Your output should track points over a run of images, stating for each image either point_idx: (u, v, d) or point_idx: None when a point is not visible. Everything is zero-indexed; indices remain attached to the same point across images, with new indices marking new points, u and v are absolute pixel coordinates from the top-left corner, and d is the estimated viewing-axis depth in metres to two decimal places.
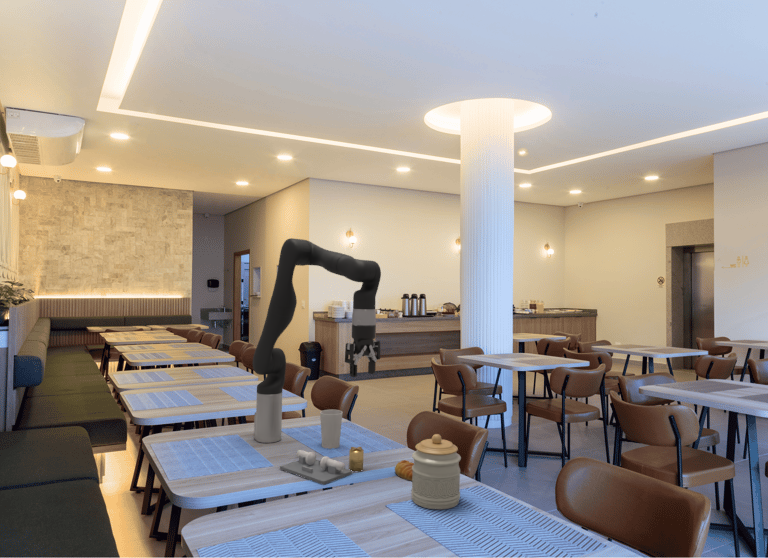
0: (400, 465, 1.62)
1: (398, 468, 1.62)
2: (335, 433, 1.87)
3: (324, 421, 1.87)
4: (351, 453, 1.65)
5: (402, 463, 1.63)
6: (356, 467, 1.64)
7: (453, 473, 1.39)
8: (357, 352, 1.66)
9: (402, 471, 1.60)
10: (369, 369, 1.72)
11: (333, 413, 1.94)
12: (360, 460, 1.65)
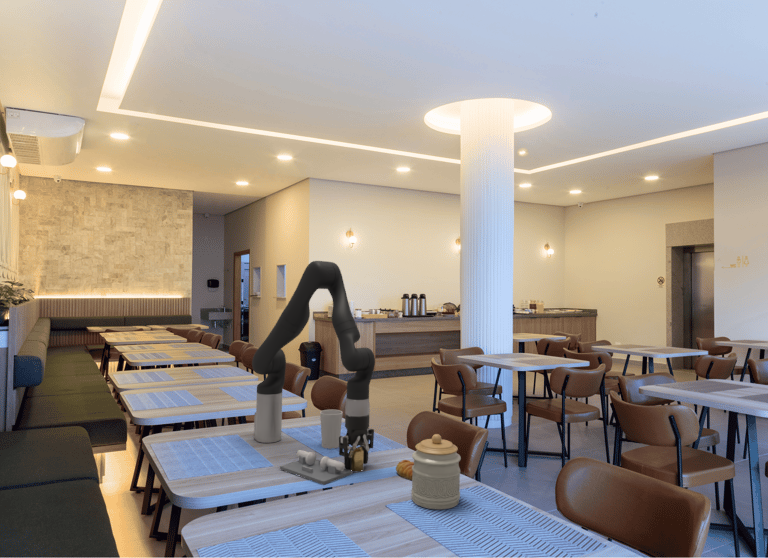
0: (402, 465, 1.63)
1: (399, 468, 1.62)
2: (335, 433, 1.87)
3: (324, 421, 1.87)
4: None
5: (403, 463, 1.64)
6: (356, 467, 1.64)
7: (453, 473, 1.39)
8: (351, 443, 1.64)
9: (404, 471, 1.60)
10: None
11: (333, 413, 1.94)
12: (360, 460, 1.65)
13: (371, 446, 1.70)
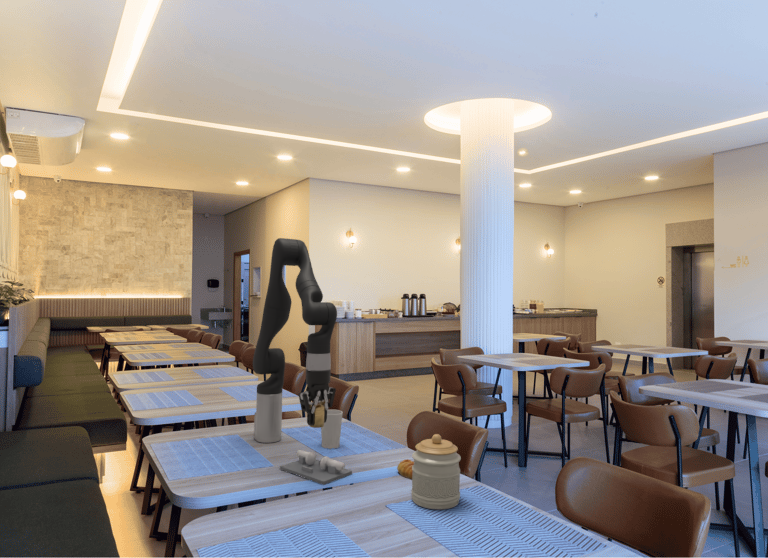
0: (403, 465, 1.63)
1: (401, 467, 1.63)
2: (335, 433, 1.87)
3: None
4: None
5: (405, 462, 1.64)
6: (317, 423, 1.62)
7: (453, 473, 1.39)
8: None
9: (405, 470, 1.61)
10: None
11: (333, 413, 1.94)
12: (320, 416, 1.62)
13: (330, 405, 1.67)
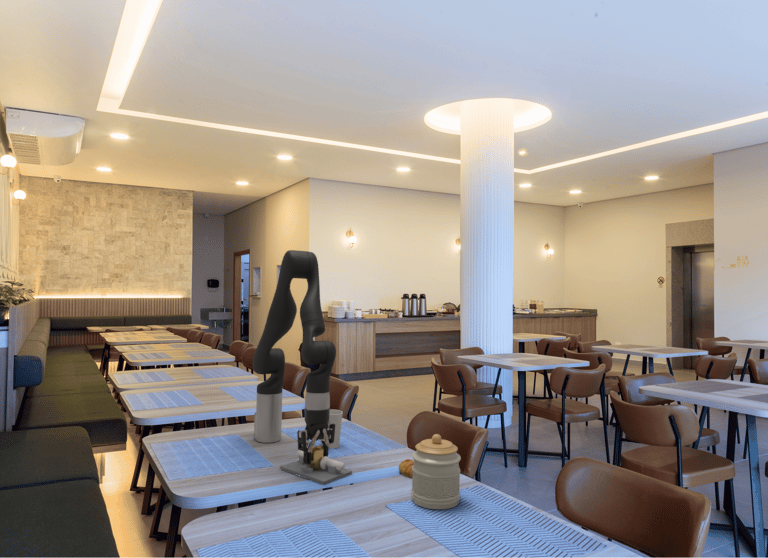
0: (405, 464, 1.63)
1: (402, 467, 1.63)
2: (335, 433, 1.87)
3: None
4: None
5: (406, 462, 1.65)
6: (316, 466, 1.61)
7: (453, 473, 1.39)
8: (310, 437, 1.61)
9: (407, 470, 1.61)
10: None
11: (333, 413, 1.94)
12: (319, 459, 1.62)
13: (332, 441, 1.67)
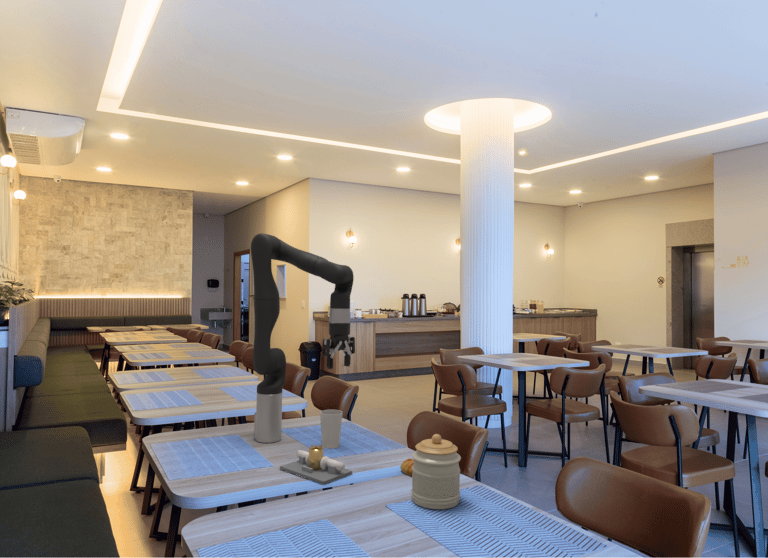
0: (407, 464, 1.64)
1: (405, 466, 1.64)
2: (335, 433, 1.87)
3: (324, 421, 1.87)
4: (310, 452, 1.62)
5: (408, 461, 1.65)
6: (316, 466, 1.61)
7: (453, 473, 1.39)
8: (333, 347, 1.87)
9: (410, 469, 1.62)
10: (345, 362, 1.92)
11: (333, 413, 1.94)
12: (319, 459, 1.62)
13: (353, 352, 1.93)
